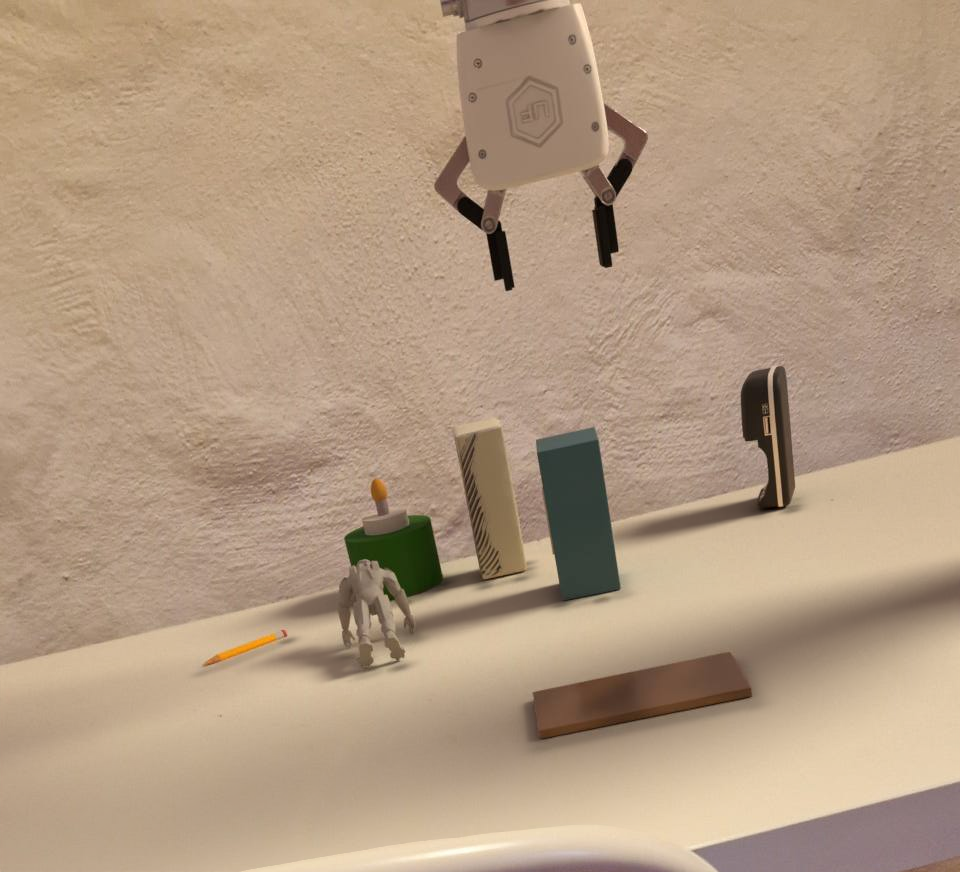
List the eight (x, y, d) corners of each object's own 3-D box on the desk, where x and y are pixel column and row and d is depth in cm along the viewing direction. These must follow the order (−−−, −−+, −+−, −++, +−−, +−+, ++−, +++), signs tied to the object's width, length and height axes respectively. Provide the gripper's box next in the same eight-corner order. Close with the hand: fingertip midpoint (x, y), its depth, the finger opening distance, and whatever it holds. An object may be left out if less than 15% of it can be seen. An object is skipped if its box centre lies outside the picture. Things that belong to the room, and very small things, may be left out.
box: (479, 568, 133) (450, 426, 126) (524, 558, 133) (497, 415, 126) (483, 582, 129) (453, 435, 122) (529, 571, 128) (502, 423, 122)
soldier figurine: (427, 680, 115) (409, 595, 122) (414, 626, 111) (396, 542, 118) (352, 697, 115) (339, 612, 123) (337, 644, 111) (324, 559, 118)
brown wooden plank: (731, 659, 97) (730, 650, 97) (752, 696, 90) (751, 687, 90) (533, 699, 99) (532, 691, 98) (539, 739, 92) (538, 730, 91)
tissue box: (594, 426, 116) (533, 439, 117) (598, 439, 111) (534, 452, 112) (616, 571, 122) (558, 583, 123) (620, 589, 117) (560, 601, 118)
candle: (351, 590, 136) (324, 483, 131) (431, 567, 137) (408, 461, 132) (367, 607, 129) (340, 496, 124) (452, 583, 130) (428, 472, 125)
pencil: (288, 637, 127) (286, 630, 127) (204, 669, 124) (202, 661, 123) (284, 636, 128) (282, 629, 127) (200, 668, 124) (198, 660, 124)
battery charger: (756, 495, 135) (743, 368, 129) (796, 489, 134) (785, 360, 128) (748, 514, 130) (735, 382, 124) (790, 508, 128) (779, 374, 122)
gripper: (392, 22, 96) (447, 308, 105) (642, -42, 94) (676, 254, 104) (395, 31, 102) (447, 299, 112) (630, -29, 101) (663, 249, 110)
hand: (557, 275), depth 107 cm, fingers open, 7 cm apart
